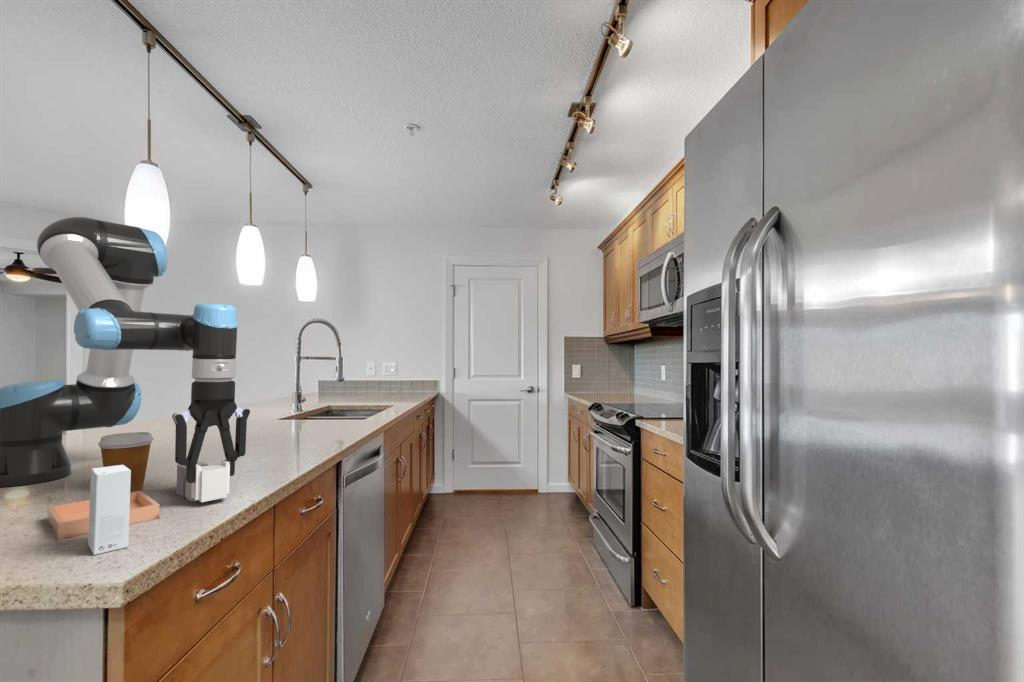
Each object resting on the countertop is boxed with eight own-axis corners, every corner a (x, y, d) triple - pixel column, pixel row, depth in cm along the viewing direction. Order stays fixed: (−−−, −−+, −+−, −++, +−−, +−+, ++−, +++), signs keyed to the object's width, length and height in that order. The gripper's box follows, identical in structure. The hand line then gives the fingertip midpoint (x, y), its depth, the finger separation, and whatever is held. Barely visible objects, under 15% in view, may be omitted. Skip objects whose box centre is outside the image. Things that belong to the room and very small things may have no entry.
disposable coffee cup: (128, 496, 99) (130, 439, 100) (84, 496, 99) (85, 438, 100) (162, 484, 109) (164, 431, 109) (122, 483, 109) (123, 431, 109)
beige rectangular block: (185, 497, 98) (185, 469, 99) (209, 493, 102) (210, 465, 102) (192, 502, 96) (193, 472, 96) (217, 497, 99) (217, 468, 99)
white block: (193, 497, 95) (194, 467, 95) (218, 492, 98) (219, 463, 99) (201, 502, 92) (202, 471, 92) (226, 497, 95) (227, 467, 96)
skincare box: (129, 547, 73) (131, 469, 73) (93, 556, 70) (95, 474, 70) (122, 537, 77) (124, 463, 77) (87, 545, 74) (89, 468, 74)
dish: (47, 521, 84) (47, 506, 84) (140, 503, 95) (140, 490, 95) (58, 540, 76) (58, 524, 76) (159, 518, 86) (159, 504, 86)
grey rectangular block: (176, 492, 102) (177, 464, 103) (200, 488, 106) (200, 461, 106) (183, 496, 99) (183, 467, 100) (207, 491, 103) (207, 464, 103)
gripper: (167, 382, 87) (163, 510, 86) (266, 379, 100) (263, 489, 99) (156, 380, 91) (152, 501, 91) (252, 377, 105) (249, 483, 104)
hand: (210, 495), depth 95 cm, fingers closed on white block, 4 cm apart
